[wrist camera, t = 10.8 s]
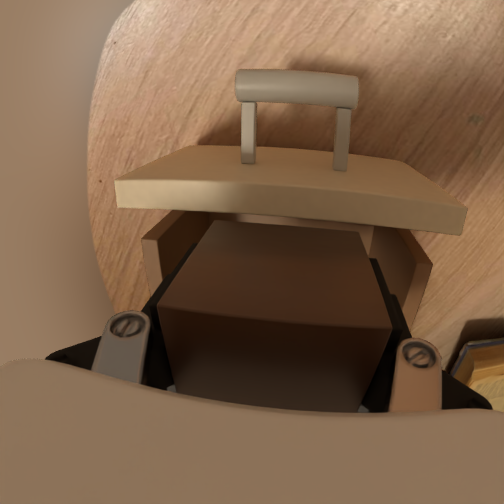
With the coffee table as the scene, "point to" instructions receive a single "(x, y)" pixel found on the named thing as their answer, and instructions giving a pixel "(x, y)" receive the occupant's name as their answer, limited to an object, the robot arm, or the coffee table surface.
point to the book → (483, 369)
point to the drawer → (294, 188)
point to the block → (275, 318)
